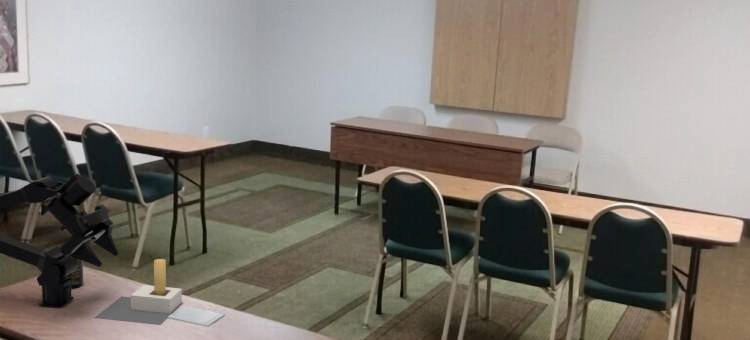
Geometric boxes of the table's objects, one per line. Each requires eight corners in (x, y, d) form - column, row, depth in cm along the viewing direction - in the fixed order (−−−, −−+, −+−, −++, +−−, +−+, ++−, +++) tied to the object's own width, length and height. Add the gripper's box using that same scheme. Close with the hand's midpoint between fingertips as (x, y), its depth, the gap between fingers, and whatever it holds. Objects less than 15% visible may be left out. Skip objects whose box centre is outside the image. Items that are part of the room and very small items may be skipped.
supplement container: (88, 284, 214) (87, 250, 212) (68, 291, 209) (67, 256, 207) (74, 279, 218) (73, 245, 216) (53, 285, 212) (52, 251, 210)
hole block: (130, 309, 197) (130, 295, 196) (143, 298, 205) (143, 284, 204) (170, 313, 196) (170, 299, 195) (181, 302, 204) (181, 288, 203)
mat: (94, 319, 191) (94, 317, 191) (121, 297, 206) (121, 296, 206) (160, 326, 189) (160, 324, 189) (183, 304, 204) (183, 302, 204)
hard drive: (167, 316, 193) (208, 324, 189) (185, 305, 200) (225, 313, 196) (167, 322, 193) (208, 330, 189) (185, 311, 201) (225, 319, 197)
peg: (152, 307, 199) (152, 261, 196) (157, 303, 202) (156, 258, 199) (163, 308, 199) (162, 262, 196) (167, 304, 202) (167, 259, 199)
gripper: (69, 206, 184) (112, 252, 185) (106, 189, 202) (144, 231, 203) (41, 233, 186) (83, 279, 187) (79, 215, 205) (118, 256, 205)
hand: (109, 260), depth 196 cm, fingers open, 9 cm apart
